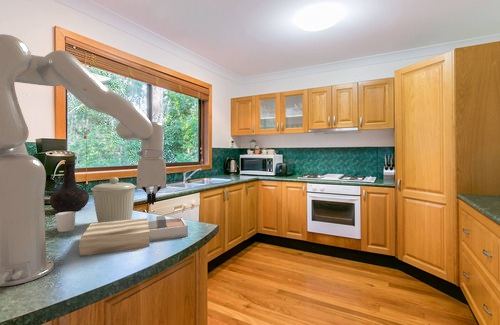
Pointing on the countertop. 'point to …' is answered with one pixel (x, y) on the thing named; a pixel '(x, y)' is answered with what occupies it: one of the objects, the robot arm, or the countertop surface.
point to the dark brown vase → (69, 192)
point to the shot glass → (65, 221)
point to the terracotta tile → (174, 224)
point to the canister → (113, 200)
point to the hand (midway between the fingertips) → (151, 203)
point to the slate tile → (160, 222)
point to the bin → (167, 230)
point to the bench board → (114, 236)
